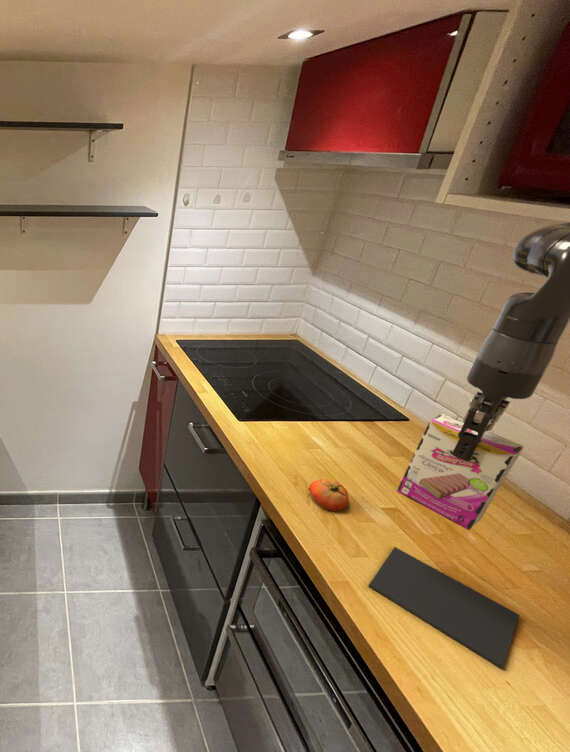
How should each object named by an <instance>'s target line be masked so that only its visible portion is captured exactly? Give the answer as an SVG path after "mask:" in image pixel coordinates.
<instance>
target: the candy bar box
mask: <svg viewBox="0 0 570 752" xmlns="http://www.w3.org/2000/svg"><path fill="white" fill-rule="evenodd" d="M463 424H464V422H463V420H459V419H457V418H454V417H452V416H450V415H447V414H444V413H440V414H438V415H437V416H435V417H433V418H431V419H430V420H429V421H428V423H427V426H426V428H425V430H424V432H423V434H422V436H421V438H420V441H419V443H418V445H417V447H416V449H415V450H414V451H415V452H414V453H413V455H412V457H411V460H410V463H409V464H408V466H407V468H406V470H405V472H404V475H403V477H402V479H401V481H400V483H399V485H398V487H397V489H396V492H397V493H398V494H400V495H402V496H403V497H405V498H407V499H409V500H411V501H414V503H417V504H419V505H421V506H423V507H425V508H426V509H428V510H430V511H432V512H434V513H436V514H438V515H439V516H442V517H443V518H445V519H447V520H449V521H450V522H452V523H454V524H456V525H458V526H460V527H461V528H463V529H465V530H467V531H470V530H471V529H472V528H473V527H474V526H475V525H477V524H478V523H479V522H481V520H482V519H483V517H484V516H485V514H486V512H487V510H488V509H489V507H490V505H491V503H492V501H493V500H494V498H495V496H496V495H497V493H498V491H499V490H500V488H501V487H502V485H503V483H504V481H505V479H506V478H507V476H508V475H509V473H510V472H511V469H512V468H513V467H514V465H515V463H516V461H518V458H519V456H520V455H521V453H522V452H523V449H524V445H522V444H521V443H518V442H515V441H512V440H511V439H508V438H505V437H502V436H500V435H497V434H494V433H492V432H490V431H486V432H485V434H484V435H483V437H482V439H483V440H482V441H481V442H480V443H479V444H478V445H477V447H476V449H475V451H474V453H473V455H472V456H471V458H470V460H469V461H465V460H462V459H460V458H457V457H455V456H453V454H452V453H453V451H454V449H455V447H456V445H457V443H458V441H459V439H460V438H459V437H458V433H459V432H460V431H461V429H462V427H463ZM467 432H470V433H473V434H476V435H478V433H477V432H475V431H473V430H470V429H468V430H467Z"/></svg>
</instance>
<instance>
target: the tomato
mask: <svg viewBox="0 0 570 752" xmlns="http://www.w3.org/2000/svg"><path fill="white" fill-rule="evenodd" d="M307 490H308V491H309V493H310V495H311V496H312V498H313V499H315V500H314V501H316V503H318V504H319V505H321V506H322V507H323V508H324V509H325V510H326V511H328V512H336V511H340V510H342V509H345V508H346V507H347V506H348V505H349V504H350V501H349V494H348V490H347V489H346V488H345V486H344V485H342V484H341V483H340V482H338V481H336V480H334V479H325V478H322V479H320V478H319V479H317V480H314V481H312V482H311V483H310V485H309V487H308V488H307Z"/></svg>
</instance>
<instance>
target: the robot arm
mask: <svg viewBox="0 0 570 752" xmlns="http://www.w3.org/2000/svg"><path fill="white" fill-rule="evenodd" d="M512 260H513V263H514V264H515V266H516V267H517V268H519V269H520V271H523V272H525V273H527V274H530V275H532V276H536V277H539V278H543V279H546V281H545V282H544V283H543V284H542V286H540V288H538V290H537V291H535V292H518V293H517V292H516V293H515V294H512V295H510V296H509V297H508V298H507V299H506V301H505V302H504V304H503V306H502V308H501V310H500V312H499V313H498V316H497V319H496V321H495V322H494V325H493V326H492V329H491V331H490V332H489V334H488V335H487V336H486V338H485V340H484V341H483V343H482V345H481V347H480V349H479V352H478V353H477V355H476V358H475V360H474V362H473V364H472V366H471V368H470V370H469V372H468V374H467V377H466V380H467V382H468V384H469V385H470V386H472V387H474V388H476V389H478V390H480V391H477V392H476V394H475V395H474V396H473V397H472V398H471V400H470V402H469V403H468V404H469V405H468V406H469V408H468V410H467V412H466V414H465V416H464V418H463V419H462V422H464V424H463V427H462V429H461V431H460V432H459V433H458V437H459V438H460V439H459V441H458V443H457V445H456V447H455V449H454V451H453V453H452V454H453V456H455V457H457V458H460V459H462V460H465V461H469V460H470V458H471V456H472V455H473V453H474V451H475V449H476V447H477V445H478V444H479V443H480V442H481V441H482V440H483V439H482V437H483V435H484V434H485V432H486V431H487V432H490V431H492V430H493V428H494V426H495V424H497V422H499V420H500V418H501V417H502V416H503V415H504V413H505V411H506V410H507V409H508V407H509V405H510V403H511V400H507V398H509V399H512V400H525V399H530V398H531V397H532V396H533V394H534V393H535V391H536V389H537V387H538V386H539V383H540V382H541V380H542V378H543V376H544V374H545V373H546V371H547V369H548V367H549V366H550V363H551V362H552V360H553V358H554V356H555V352H556V349H557V347H558V344H559V341H560V340H561V338H562V336H563V335H564V334H565V333H564V332H565V331H566V329H567V327H568V326H569V324H570V221H569V222H561V223H555V224H550V225H547V226H543V227H541V228H538V229H536V230H534V231H532V232H530V233H528V234H526V236H524V237H523V238H522V239H520V240H519V241H518V242H517V244H516V245H515V247H514V249H513V252H512ZM468 429H470V430H473V431H475V432H477V433H478V435H476V434H473V433H470V432H467V430H468Z"/></svg>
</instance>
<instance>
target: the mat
mask: <svg viewBox="0 0 570 752" xmlns="http://www.w3.org/2000/svg"><path fill="white" fill-rule="evenodd" d="M368 588H370V589H372V590H373V591H375V592H376V593H378V594H380V595H381V596H383V597H384V598H386V599H388V600H390V601H391V602H393V603H394V604H396V605H397V606H399V607H401V608H402V609H404V610H406V611H407V612H409V614H412V615H413V616H415V617H417V618H418V619H420V620H421V621H423V622H425V623H427V624H428V625H429V626H431V627H433V628H434V629H436V630H438V631H439V632H441V633H443V634H444V635H446V636H447V637H449V638H450V639H452V640H454V641H456V642H457V643H458V644H460V645H462V646H464V647H465V648H467V649H469V650H470V651H471V652H473V653H474V654H476V655H477V656H479V657H481V658H483V659H484V660H486V661H488V662H489V663H491V664H492V665H494V666H496V667H498V668H499V669H500V670H503V668H504V666H505V664H506V660H507V657H508V654H509V650H510V646H511V644H512V641H513V637H514V633H515V631H516V627H517V623H518V620H519V617H520V614H519V613H518V612H515V611H514V610H512V609H510V608H508V607H506V606H505V605H503V604H500V603H499V602H497V601H495V600H493V599H491V598H490V597H488V596H486V595H484V594H483V593H481V592H479V591H477V590H475V589H473V588H471V587H469V586H467V585H466V584H464V583H462V582H461V581H458V580H456V579H455V578H453V577H452V576H449V575H447V574H445V573H444V572H442V571H440V570H438V569H437V568H435V567H433V566H431V565H429V564H428V563H426V562H424V561H422V560H419V559H418V558H416V557H414V556H413V555H411V554H409V553H407V552H405V551H403V550H402V549H400V548H398V547H397V546H394V547H393V548H392V550H391V552H390V553H389V554H388V556H387V557H386V558H385V560H384V562H383V563H382V565H381V566H380V568H379V569H378V571H377V572H376V573H375V575H374V577H373V578H372V579H371V580H370V582H369V584H368Z"/></svg>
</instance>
